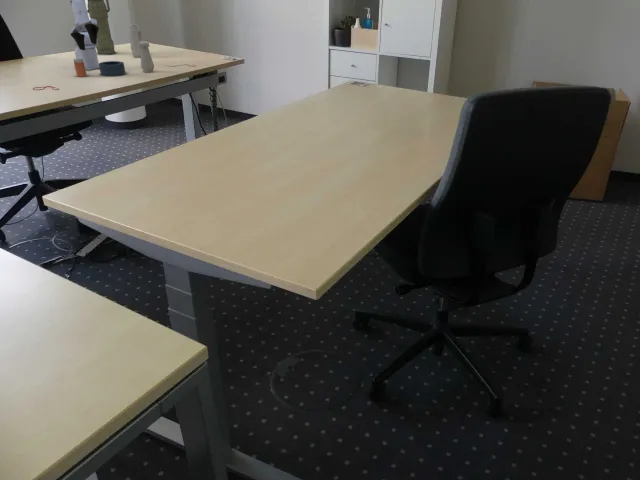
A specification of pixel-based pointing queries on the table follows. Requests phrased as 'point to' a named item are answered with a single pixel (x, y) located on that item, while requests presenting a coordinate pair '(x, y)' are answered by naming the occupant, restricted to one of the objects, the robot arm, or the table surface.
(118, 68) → the dark blue bowl
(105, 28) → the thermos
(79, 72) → the shaker
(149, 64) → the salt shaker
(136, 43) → the energy drink can
